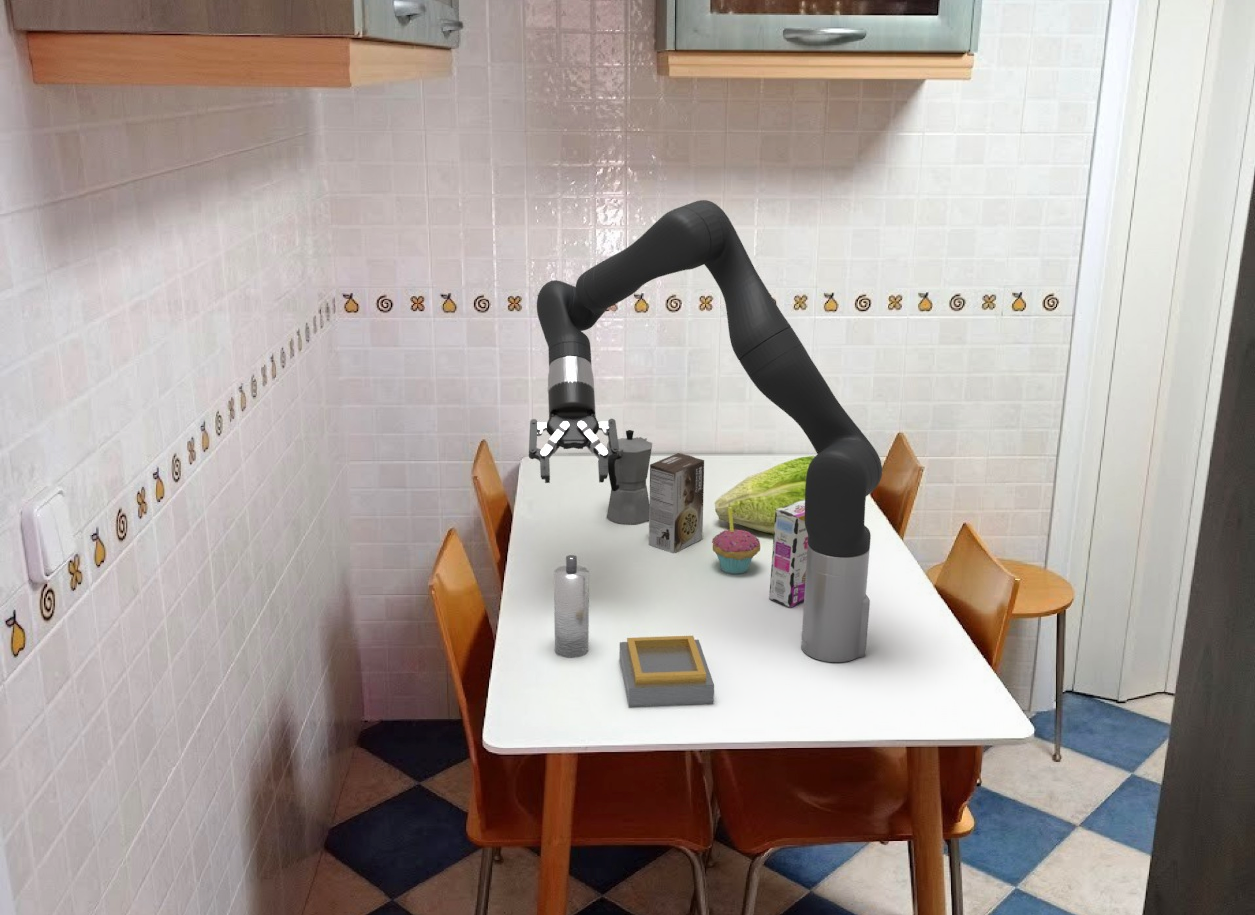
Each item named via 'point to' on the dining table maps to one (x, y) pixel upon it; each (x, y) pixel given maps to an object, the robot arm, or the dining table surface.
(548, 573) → the dining table surface
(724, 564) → the cupcake
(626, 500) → the coffeepot
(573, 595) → the spout can
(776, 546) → the candy bar box
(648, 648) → the grey square tray
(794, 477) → the lettuce
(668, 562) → the dining table surface
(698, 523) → the coffee box
